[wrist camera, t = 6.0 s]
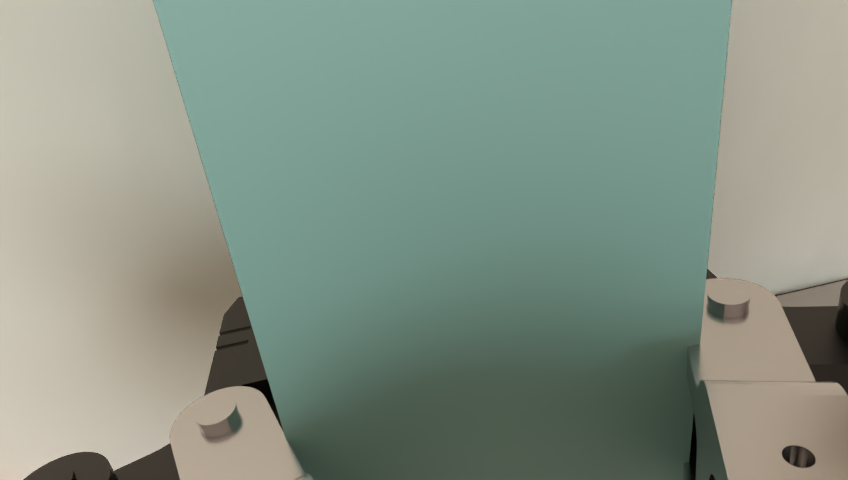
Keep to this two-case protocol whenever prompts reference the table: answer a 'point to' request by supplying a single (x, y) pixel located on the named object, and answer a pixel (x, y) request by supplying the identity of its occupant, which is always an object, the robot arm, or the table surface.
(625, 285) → the teal brick
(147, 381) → the table surface
